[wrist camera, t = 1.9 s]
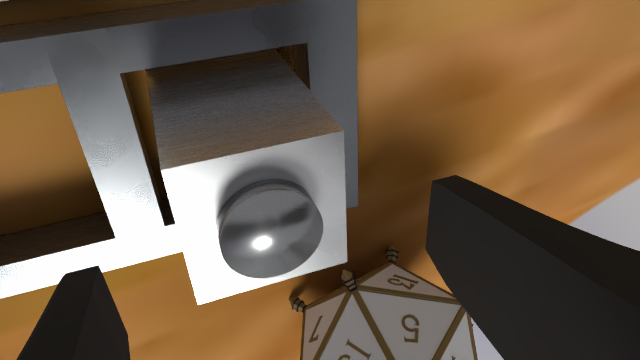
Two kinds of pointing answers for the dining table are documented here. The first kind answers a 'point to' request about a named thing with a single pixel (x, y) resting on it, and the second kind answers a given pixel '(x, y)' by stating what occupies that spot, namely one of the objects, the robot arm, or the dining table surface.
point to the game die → (386, 319)
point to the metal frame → (122, 123)
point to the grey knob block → (249, 171)
